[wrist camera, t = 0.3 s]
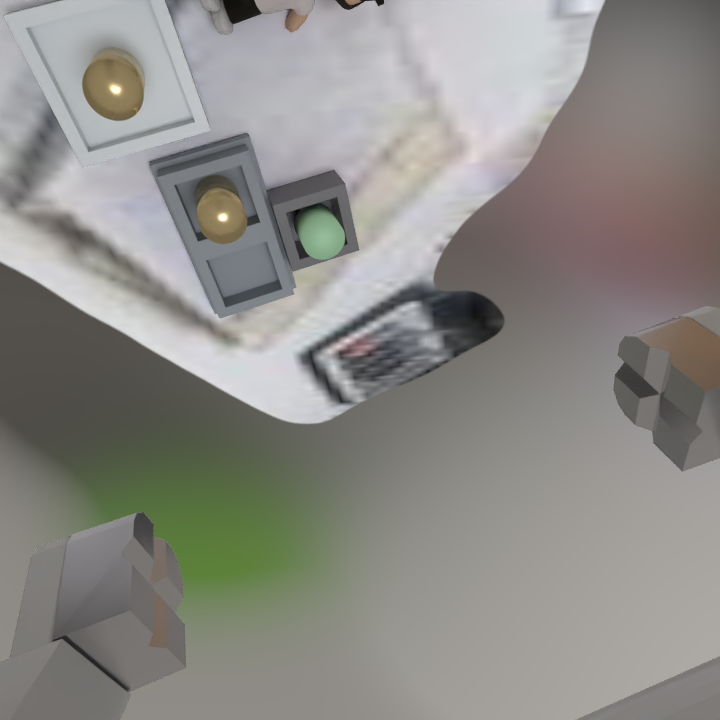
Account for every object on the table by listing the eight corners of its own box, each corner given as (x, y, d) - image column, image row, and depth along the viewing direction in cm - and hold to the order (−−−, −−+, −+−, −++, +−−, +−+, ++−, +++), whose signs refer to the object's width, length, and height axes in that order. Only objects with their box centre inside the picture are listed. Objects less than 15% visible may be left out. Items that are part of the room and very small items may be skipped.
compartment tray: (149, 161, 48) (149, 173, 46) (247, 133, 49) (252, 142, 47) (214, 308, 59) (216, 324, 56) (294, 282, 59) (300, 296, 57)
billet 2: (187, 182, 49) (190, 206, 45) (230, 169, 50) (238, 192, 45) (204, 222, 52) (208, 249, 47) (244, 210, 52) (253, 235, 48)
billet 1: (80, 54, 42) (70, 68, 37) (131, 40, 42) (128, 52, 38) (105, 108, 45) (99, 127, 40) (153, 95, 45) (152, 112, 40)
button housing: (265, 190, 53) (272, 205, 50) (334, 170, 54) (345, 183, 50) (285, 254, 57) (292, 271, 54) (348, 234, 58) (359, 250, 55)
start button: (289, 210, 52) (297, 226, 49) (329, 197, 52) (340, 213, 49) (300, 247, 55) (308, 265, 51) (338, 235, 55) (348, 252, 52)
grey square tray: (8, 13, 40) (3, 15, 38) (156, -25, 41) (156, -24, 40) (84, 161, 47) (82, 167, 45) (209, 125, 48) (210, 130, 47)
